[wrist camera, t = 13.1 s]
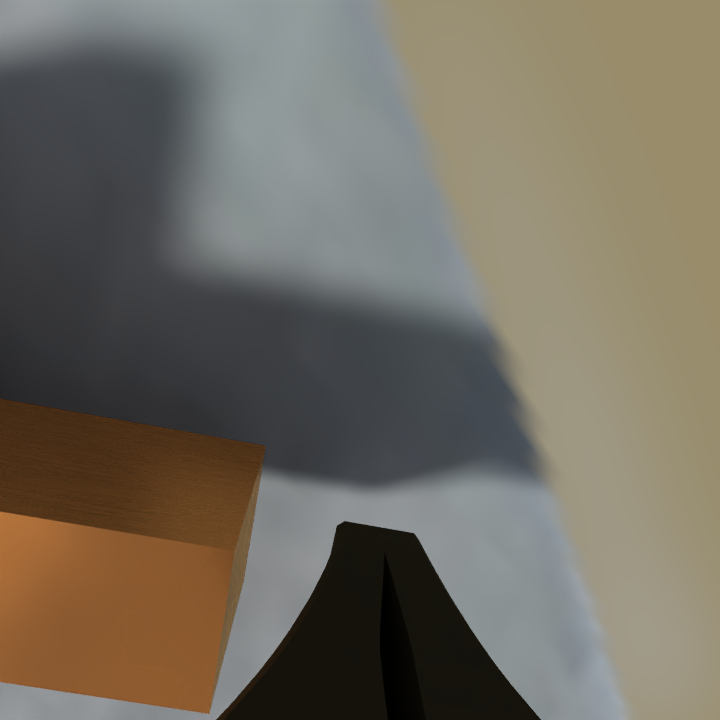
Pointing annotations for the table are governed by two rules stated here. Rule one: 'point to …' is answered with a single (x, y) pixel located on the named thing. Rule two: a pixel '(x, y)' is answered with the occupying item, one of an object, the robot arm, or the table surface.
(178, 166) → the table surface
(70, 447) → the clamp jaw
